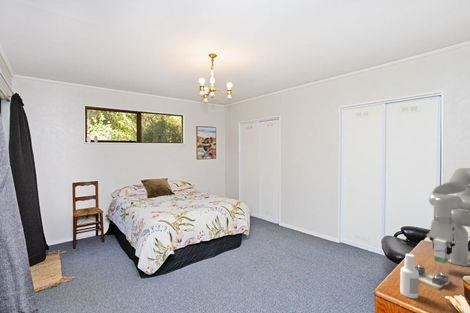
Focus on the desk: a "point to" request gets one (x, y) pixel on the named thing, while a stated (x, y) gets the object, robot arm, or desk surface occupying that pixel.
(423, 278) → the jig board
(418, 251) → the desk surface
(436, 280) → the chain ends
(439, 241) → the ink box
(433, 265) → the desk surface
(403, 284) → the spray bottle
